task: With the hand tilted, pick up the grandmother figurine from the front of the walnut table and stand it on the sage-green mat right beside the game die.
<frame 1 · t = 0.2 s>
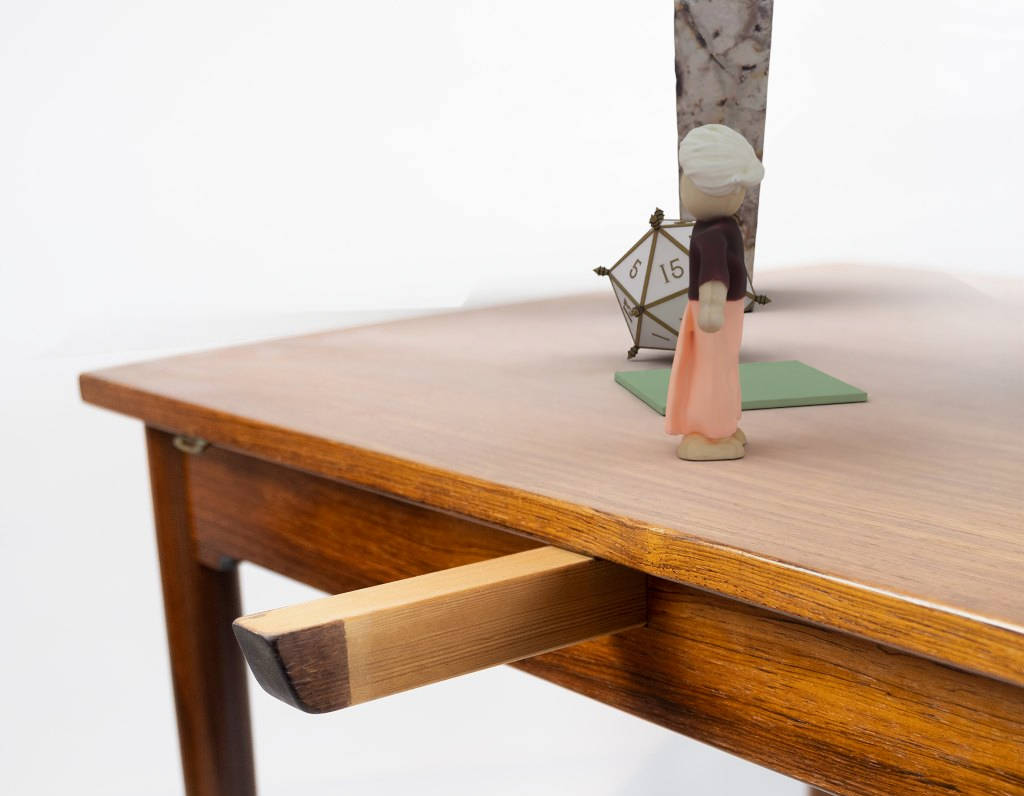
game die: (681, 362, 85), on the table
mat: (734, 389, 75), on the table
stone block: (719, 304, 107), on the table
grandmother figurine: (710, 456, 63), on the table
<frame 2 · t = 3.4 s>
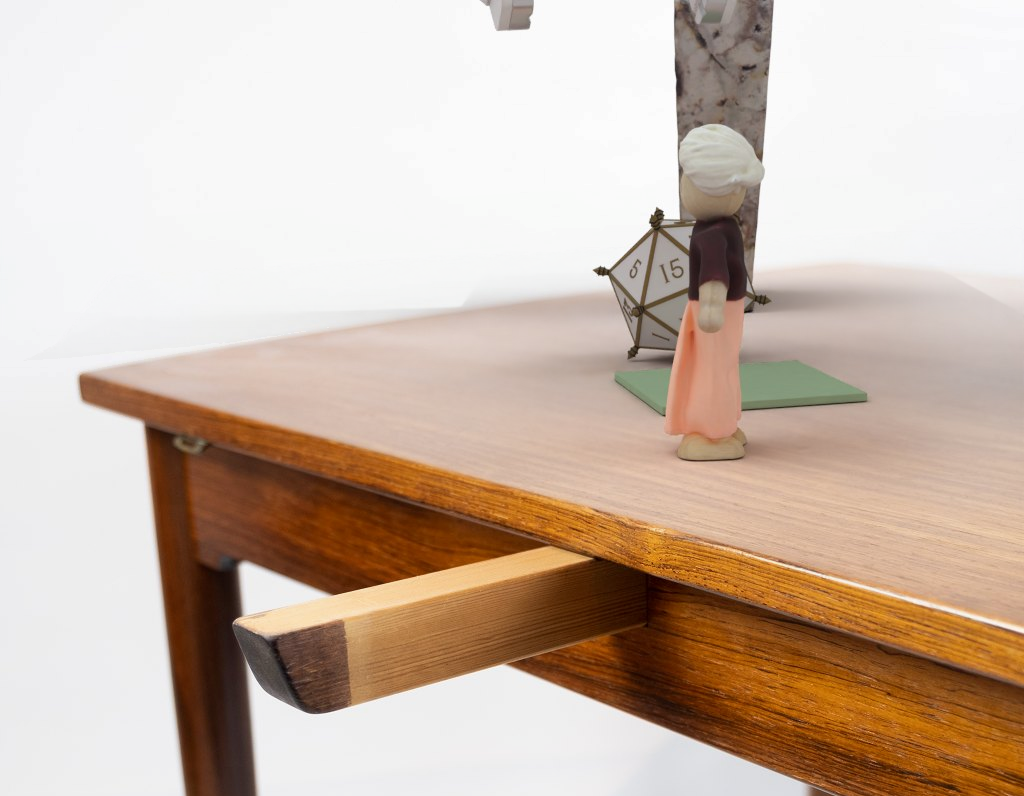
hand: (618, 16, 67), 17 cm above the table, tool tilted 45°, fingers open, 8 cm apart
nothing on the table moved.
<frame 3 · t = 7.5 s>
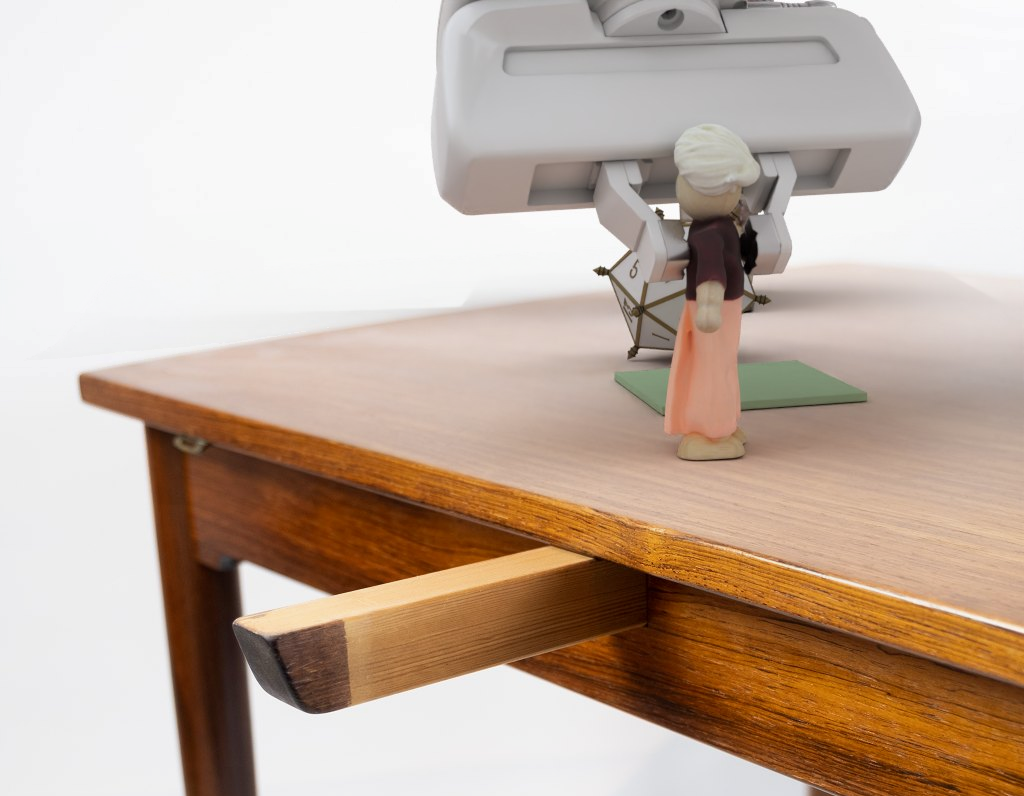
hand: (719, 268, 59), 7 cm above the table, tool tilted 45°, fingers closed on grandmother figurine, 3 cm apart
grandmother figurine: (710, 455, 63), on the table, touching gripper
everything else where it was.
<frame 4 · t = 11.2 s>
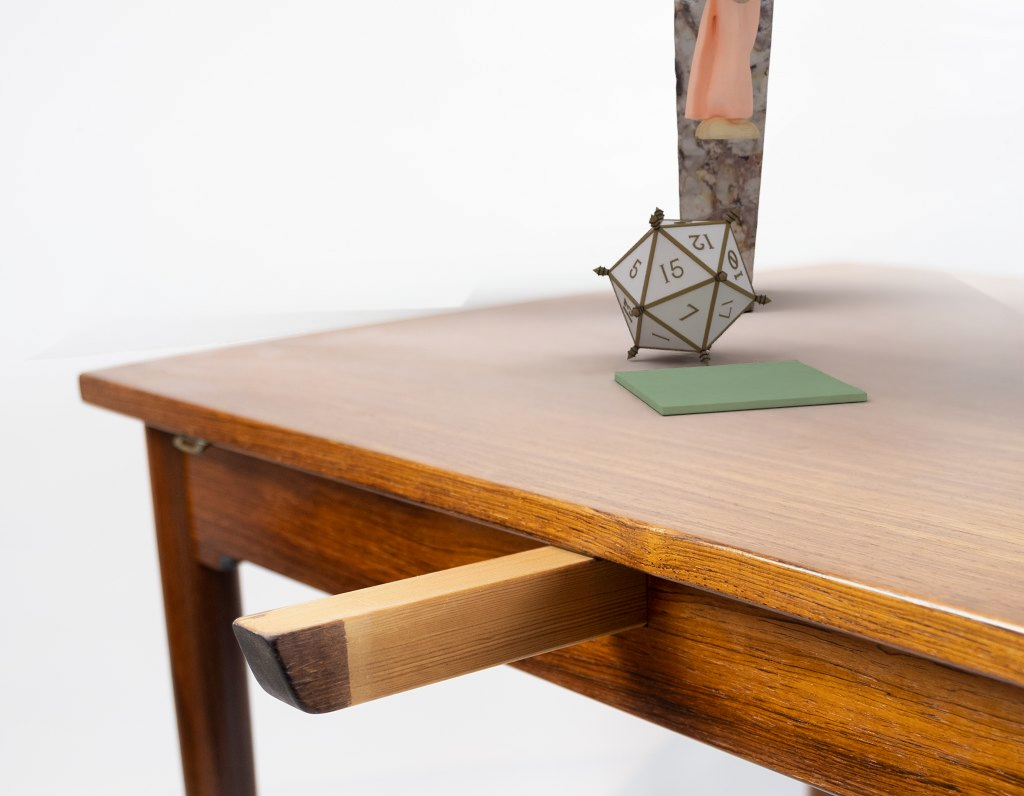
grandmother figurine: (726, 143, 68), point 12 cm above the table, touching gripper
everything else where it was.
when the fingers open (8 cm above the table, at t = 14.9 s): grandmother figurine stays where it is, resting on mat.
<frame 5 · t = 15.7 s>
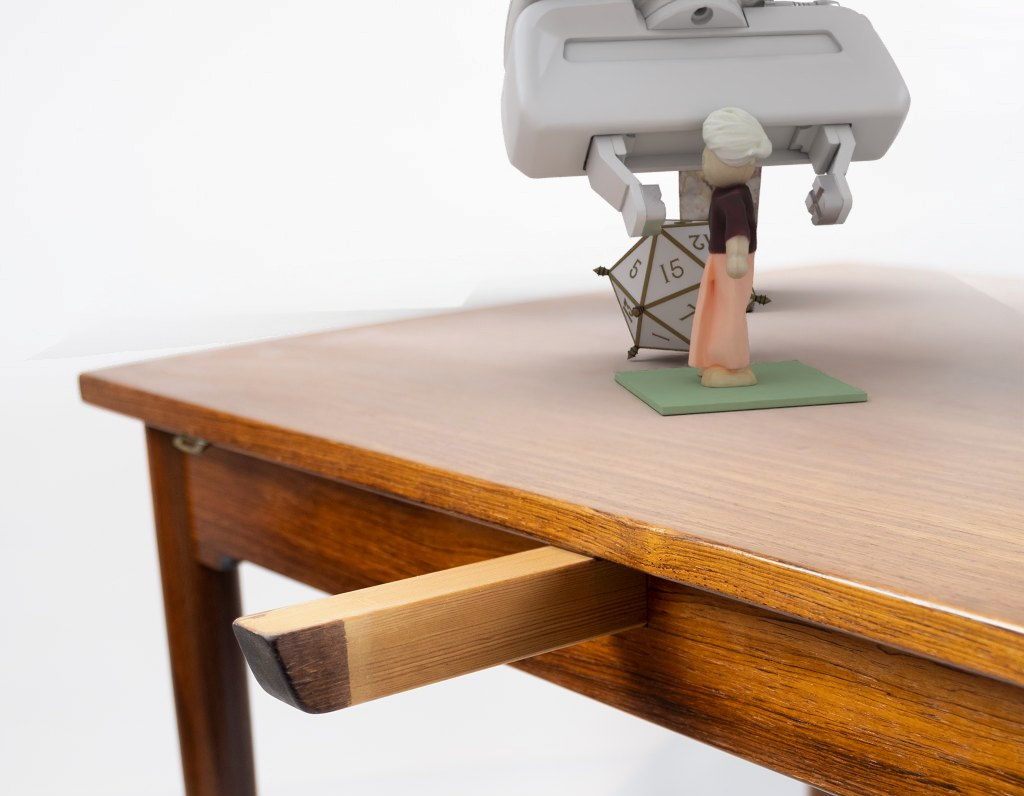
hand: (742, 222, 72), 8 cm above the table, tool tilted 45°, fingers open, 8 cm apart
grandmother figurine: (726, 385, 75), resting on mat
everything else where it was.
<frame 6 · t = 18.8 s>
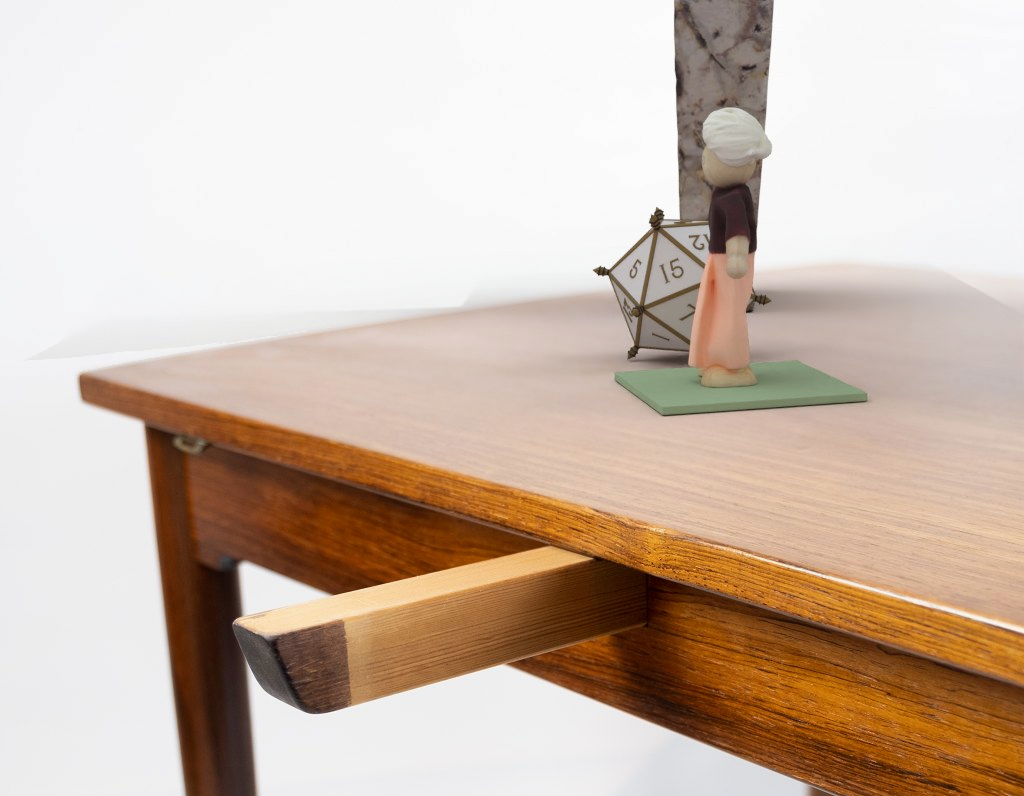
nothing on the table moved.
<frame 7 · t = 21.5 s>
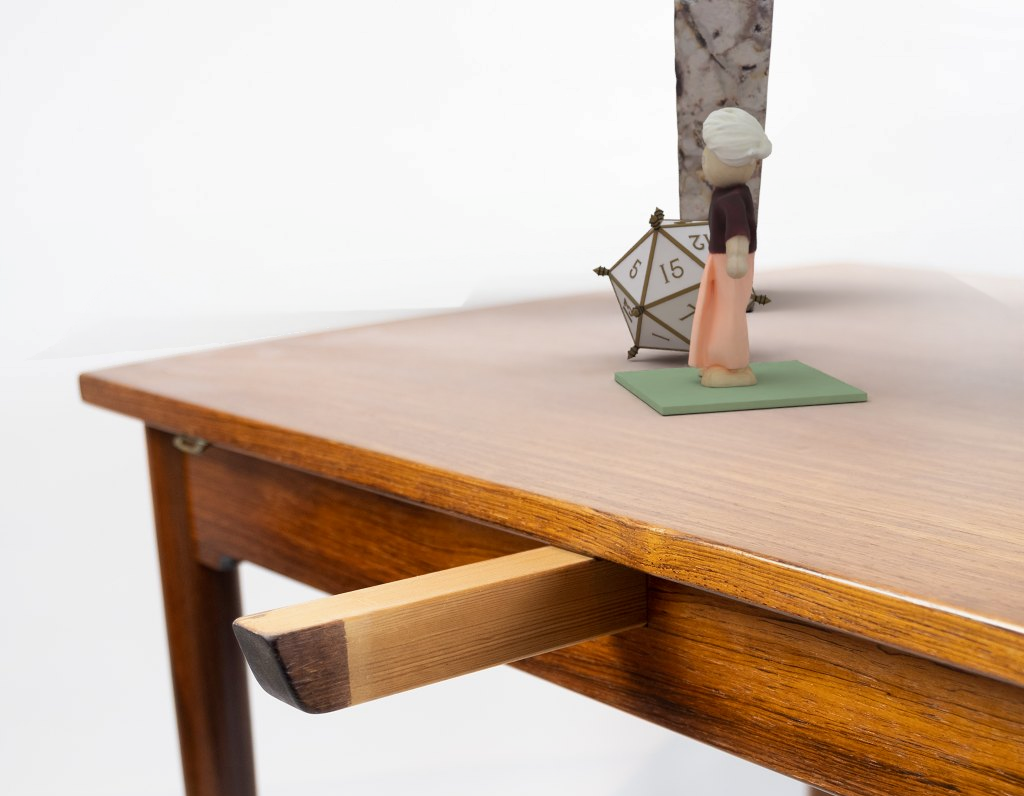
nothing on the table moved.
at the end: grandmother figurine 9.8 cm from the game die (horizontally); grandmother figurine tilted 0°; game die moved 0.2 cm from its start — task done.
